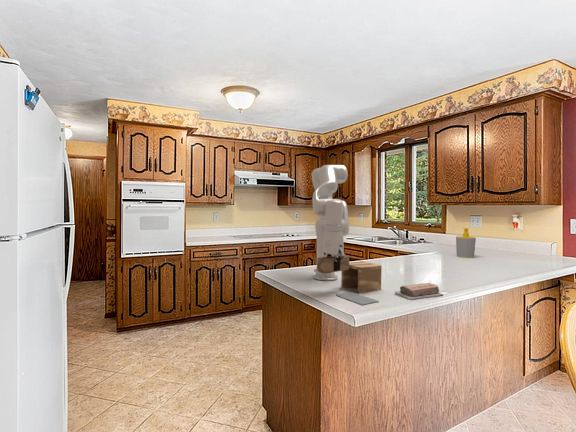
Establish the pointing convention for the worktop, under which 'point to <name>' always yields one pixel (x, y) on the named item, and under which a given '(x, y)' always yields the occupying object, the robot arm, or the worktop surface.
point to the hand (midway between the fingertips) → (332, 268)
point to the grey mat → (357, 298)
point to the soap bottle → (465, 245)
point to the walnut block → (331, 264)
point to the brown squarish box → (362, 276)
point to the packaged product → (418, 291)
